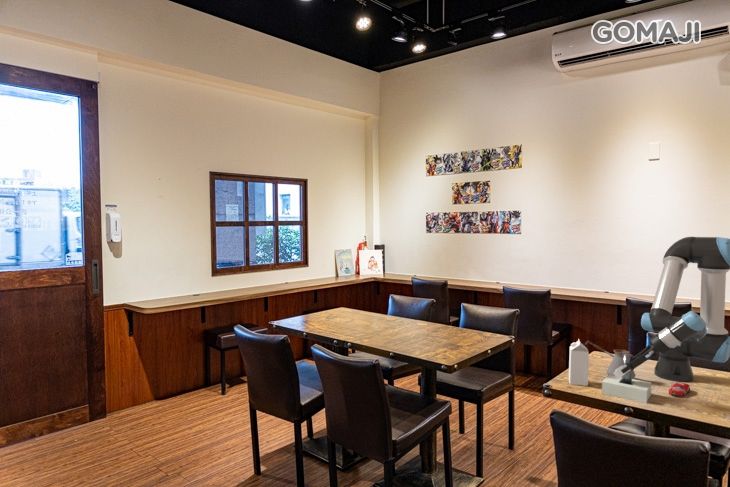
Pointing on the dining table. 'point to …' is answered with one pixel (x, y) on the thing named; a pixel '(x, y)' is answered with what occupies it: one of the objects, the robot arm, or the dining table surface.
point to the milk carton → (578, 364)
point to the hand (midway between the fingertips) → (616, 374)
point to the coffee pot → (614, 359)
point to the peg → (628, 376)
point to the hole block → (626, 389)
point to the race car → (679, 389)
